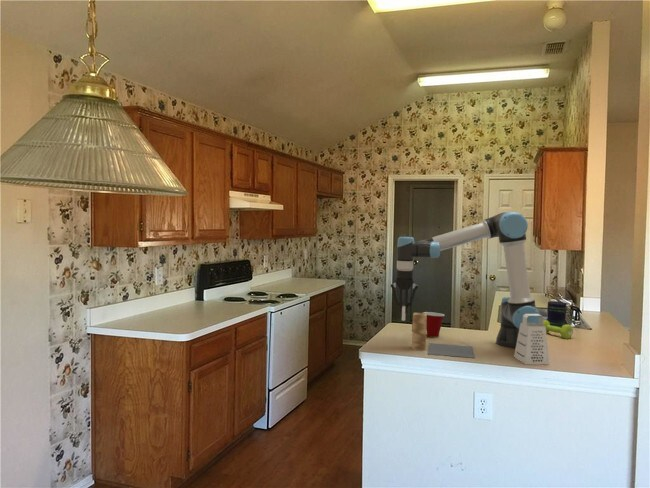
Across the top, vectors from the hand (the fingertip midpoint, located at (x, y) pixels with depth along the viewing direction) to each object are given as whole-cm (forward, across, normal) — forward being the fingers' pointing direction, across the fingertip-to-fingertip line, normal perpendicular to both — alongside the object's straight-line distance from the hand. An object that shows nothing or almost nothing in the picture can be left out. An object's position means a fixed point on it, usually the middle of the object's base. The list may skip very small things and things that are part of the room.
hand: (403, 319), depth 230 cm
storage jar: (+13, -80, -67) cm, 105 cm away
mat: (+13, -22, 0) cm, 25 cm away
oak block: (+13, -7, 0) cm, 15 cm away
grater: (+13, -55, +6) cm, 57 cm away
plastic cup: (+13, -13, -27) cm, 33 cm away
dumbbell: (+13, -76, -49) cm, 91 cm away
